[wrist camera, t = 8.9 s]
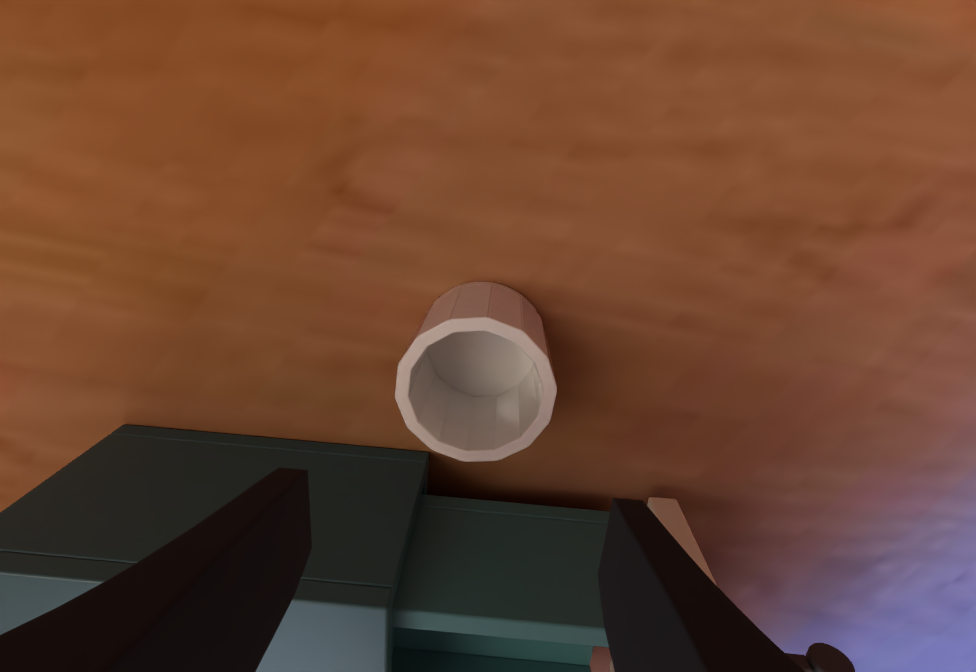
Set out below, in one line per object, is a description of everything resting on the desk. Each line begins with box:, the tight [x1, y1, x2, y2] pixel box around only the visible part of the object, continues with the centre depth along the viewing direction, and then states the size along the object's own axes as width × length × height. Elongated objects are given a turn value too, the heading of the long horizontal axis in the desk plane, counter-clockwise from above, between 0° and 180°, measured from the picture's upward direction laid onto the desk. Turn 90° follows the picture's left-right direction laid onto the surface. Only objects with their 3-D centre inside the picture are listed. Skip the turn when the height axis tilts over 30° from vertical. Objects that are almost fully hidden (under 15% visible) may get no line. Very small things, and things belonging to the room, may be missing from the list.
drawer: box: [392, 494, 855, 672], centre depth 20 cm, size 17×10×6 cm, turn 85°
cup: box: [395, 282, 557, 462], centre depth 18 cm, size 5×5×4 cm
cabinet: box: [0, 425, 429, 672], centre depth 21 cm, size 14×12×8 cm
